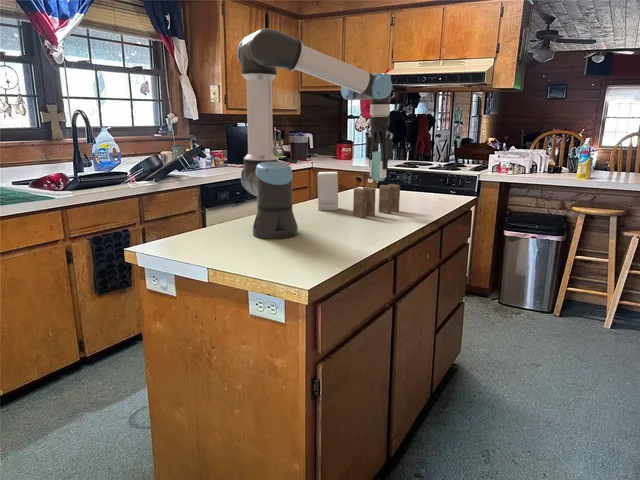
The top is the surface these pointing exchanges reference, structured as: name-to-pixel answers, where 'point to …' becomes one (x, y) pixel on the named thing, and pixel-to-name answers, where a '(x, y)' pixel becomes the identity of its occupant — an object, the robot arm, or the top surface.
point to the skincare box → (327, 190)
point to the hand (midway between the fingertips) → (377, 176)
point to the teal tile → (376, 166)
